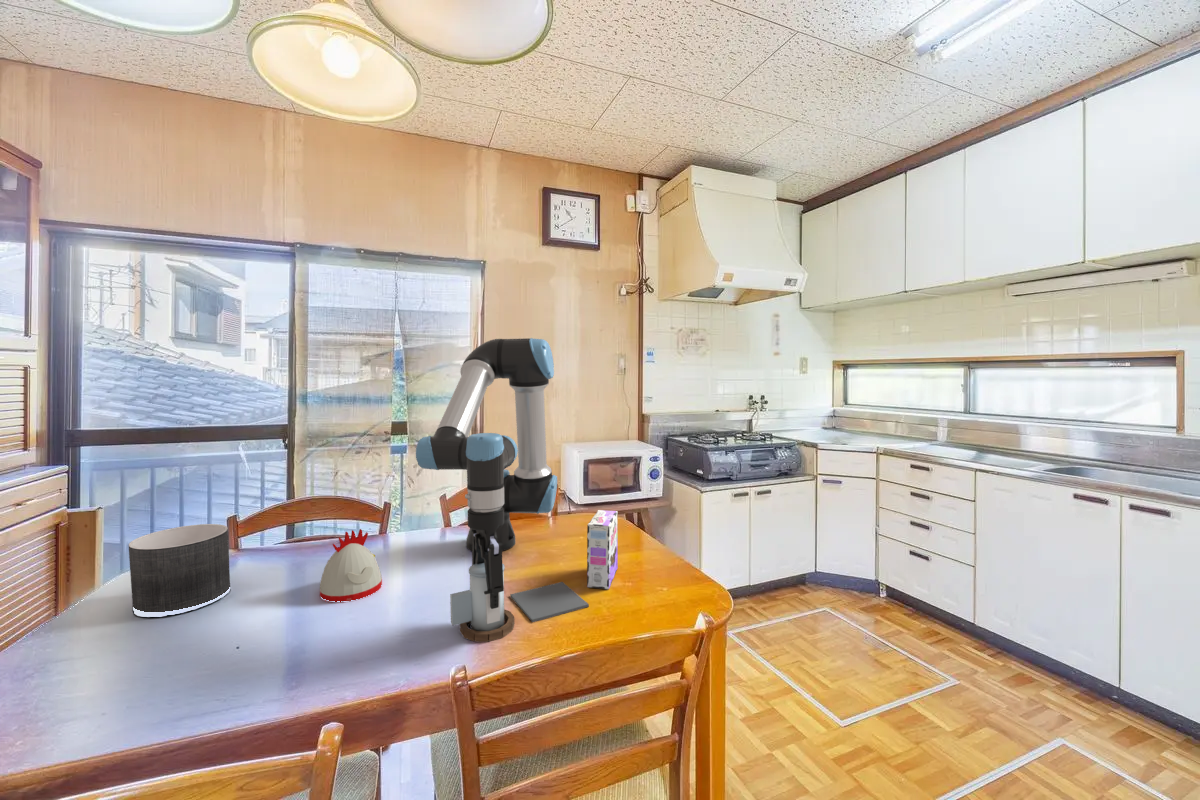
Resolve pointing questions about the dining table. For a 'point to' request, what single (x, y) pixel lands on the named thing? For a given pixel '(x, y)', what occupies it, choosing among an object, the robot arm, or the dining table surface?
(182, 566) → the planter
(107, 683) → the dining table surface
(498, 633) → the brown segmented ring
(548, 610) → the mat
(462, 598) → the white cylindrical canister
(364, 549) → the white chicken figure
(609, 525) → the candy box
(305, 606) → the dining table surface
